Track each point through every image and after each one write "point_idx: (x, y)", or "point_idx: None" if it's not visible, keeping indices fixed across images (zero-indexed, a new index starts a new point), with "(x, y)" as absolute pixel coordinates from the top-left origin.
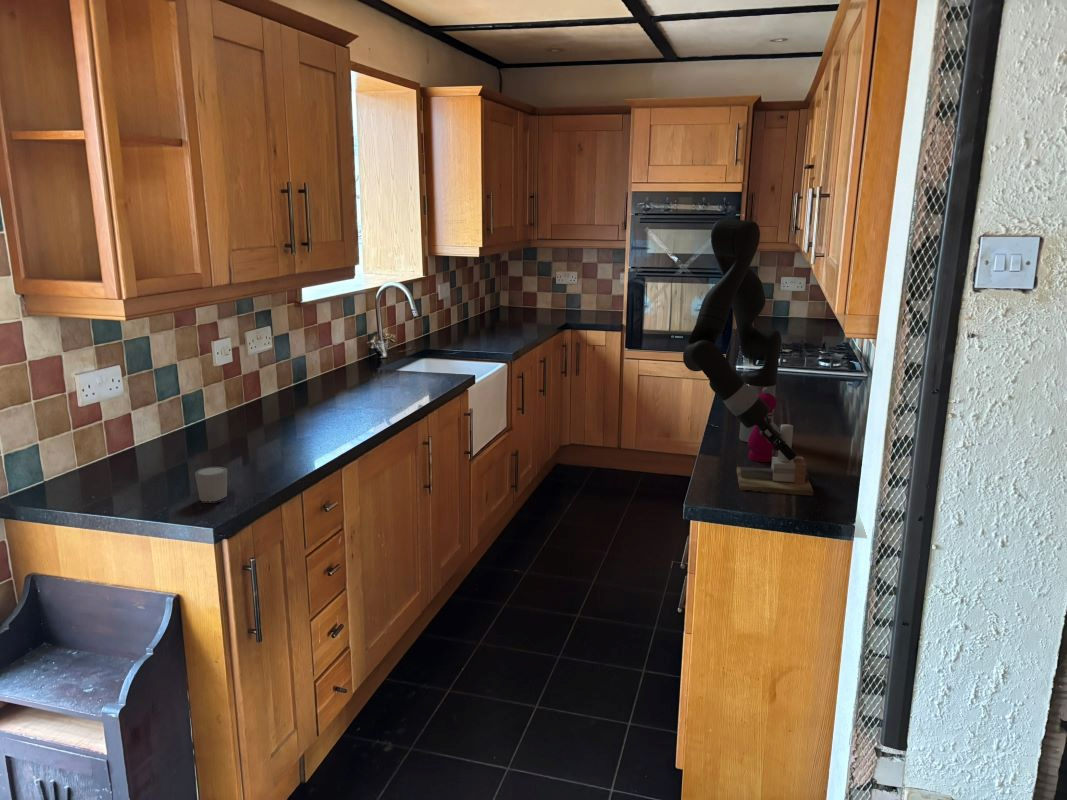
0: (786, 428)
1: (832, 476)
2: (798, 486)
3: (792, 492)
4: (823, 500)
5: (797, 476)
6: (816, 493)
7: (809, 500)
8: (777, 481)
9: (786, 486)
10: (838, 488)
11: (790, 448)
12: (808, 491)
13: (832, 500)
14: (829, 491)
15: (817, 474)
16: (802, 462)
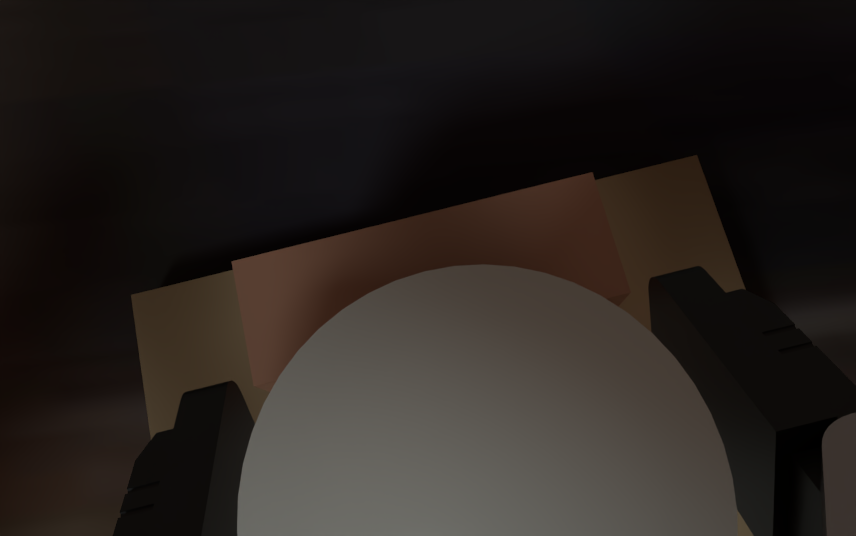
0: (711, 485)
1: (77, 89)
2: (640, 292)
3: None
4: (756, 86)
5: None
6: (604, 154)
7: (825, 184)
8: None
9: None
10: (383, 17)
11: (767, 344)
12: (709, 197)
13: (715, 26)
14: (496, 69)
15: (64, 206)
16: (489, 232)
